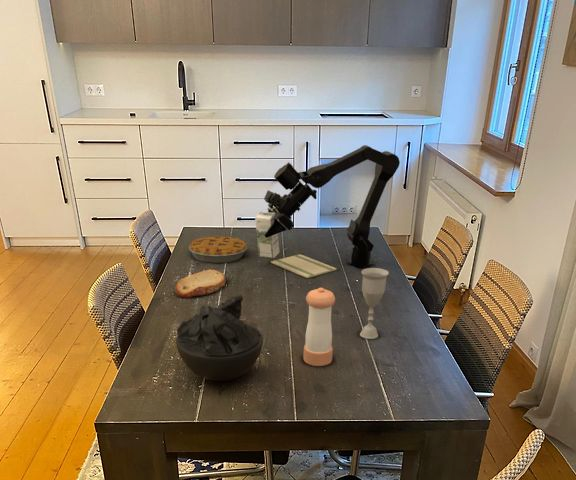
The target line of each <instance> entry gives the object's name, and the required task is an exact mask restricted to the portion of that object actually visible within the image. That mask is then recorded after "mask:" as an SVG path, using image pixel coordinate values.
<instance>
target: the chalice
mask: <svg viewBox="0 0 576 480" xmlns="http://www.w3.org/2000/svg"><path fill="white" fill-rule="evenodd" d="M360 272H361V275H362V283H361V291H362V296H363V299H364V301H365V303H366V305H367V306H368V307H369V310H368V317H367V319H366V320H367V322H368V323H367V324H366V325H364V326H363V327H362V329H361V332H360V333H359V336H360V337H361V338H364V339H367V340H373V339H377V338H378V337H379V333H378V331H377V328H376V326H374V325H373V321H374V320H375V318H374V317H373V316H374V314H375V311H374V307H376V306H378V304H379V303H380V301H381V299H383V296H384V294H385V291H386V286H387V284H386V283H387V277H388V275H390V272H389V270H387V269H385V268H379V267H370V268H369V267H368V268H364V269H362V270H361V271H360Z"/></svg>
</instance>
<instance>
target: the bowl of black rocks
mask: <svg viewBox="0 0 576 480" xmlns="http://www.w3.org/2000/svg"><path fill="white" fill-rule="evenodd" d="M243 298H244V297H243V295H242V294H238V295H236V296H233V297H231V298H229V299H227V300H225V301H224V302H221V303H220V304H218V305H217V306H216V307H213V306H211V305H206V306H205V305H204V304H201V306H200V308H199V310H198V311H199V312H198V313H196V314H194V315H193V316H191V317H190V318H188V319H187V320H182V321H181V323H180V324H179V325H178V327H177V329H176V335H177V336H176V340H175V344H176V349H177V352H178V354H179V356H180V358H181V360H182V362H183V364H184V365H185V366H186V367H187V368H188V369H189V371H191V372H193V373H194V374H195V375H197V376H199V377H201V378H202V379H204V380H205V379H206V380H208V381H213V382H227V381H231V380H235V379H238V378H240V377H241V376H243V375H244V374H246V373H247V372H248V371H249V370H251V368H252V367H254V365H255V364H256V362H257V361H258V359H259V357H260V355H261V353H262V349H263V344H264V337H263V333H261V331H260V330H258V328H256V327H255V326H252V325H250V324H248V323H246V322H245V321H244V320H241V319H240V318H241V316H242V309H243V306H242V302H243V300H244V299H243Z"/></svg>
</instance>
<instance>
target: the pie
mask: <svg viewBox="0 0 576 480" xmlns="http://www.w3.org/2000/svg"><path fill="white" fill-rule="evenodd" d="M247 249H248V244H247V242H246V241H245V240H243V239H241V238H239V237H232V236H229V235H226V236H222V235H216V236H205V237H198V238H196V240H195V239H193V240H191V243H189V245H188V251H190V252H191V254H192V256H193V258H195V259H196V260H197V261H200V262H205V263H214V264H217V263H218V264H220V263H230V262H236V261H238V260H240V259H241V258H242V257H244V254H245V252H246V250H247Z"/></svg>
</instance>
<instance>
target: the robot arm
mask: <svg viewBox="0 0 576 480" xmlns="http://www.w3.org/2000/svg"><path fill="white" fill-rule="evenodd" d="M365 161H370V162H373V163H375V167H374V178H373V180H372V183H371V185H370V187H369V190H368V192H367V194H366V198H365V200H364V202H363V205H362V207H361V209H360V213H359V214H358V217H357V218H355V220H353V219H350V221H349V225H348V227H347V228H346V231H347V233H346V236H347V239H348V240H349V241H350V243H351V244H352V246H353V248H352V252H351V261H348V265H350V266H354V267H356V268H359V269H363V268H366V267H370V266H373V265H374V263H373V262H370V261H371V252H372V251H373V249H374V246H375V245H374V244H373V243H372V242H371V241H370V239H369V236H370V233H371V222H372V219H373V217H374V215H375V212H376V210H377V207H378V205H379V202H380V201H381V198H382V195H383V193H384V191H385V188H386V186H387V183H388V182H389V181H390V180H391V179H392V178H393V176H395V173H396V172H397V170H398V169H399V167H400V163H401V161H400V158H399V157H398V155H396V154H395V153H393V152H391V151H388V150H384V151H381V150H380V151H379V150H377V149H374V148H372V147H371V146H369V145H366V144H364V145H361V146H360V147H359V148H357V149H355V150H353V151H351V152H349V153H347V154H345V155H343V156H341V157H339V158H336V159H335V160H333V161H330V162H328V163H323V164H318V165H315V166H311V167H309V168H308V169H307V170H305V171H299V172H298V170H297V169H295V168H294V166H293V164H291V163H290V162H287V163H285V164H284V165H283V166H281V167H280V168H278V169H277V170H276V172H275V174H274V175H273V178H274V179H275V180H276V181H277V182H278V183H279V184H280V185H281V186H282V187H283V188H284V190H287V191H288V190H290V192H289V193H288V194H287V193H285V194H284V195H282V196H281V194H280V193H277V192H273V191H271V190H267V191H266V193H265V196H264V199H263V200H264V201H265V203H267V212H270V213H276V215H275V217H276V218H277V219H276V218H275V217H274V216H273V223H272V225H271V226H270V228H269V229H268V231H267V232H266V233H265V235H264V236H265V237H266V238H268V237H270V236H272V235H275V234H277V233H278V234H280V233H283V232H285V231H286V232H287V231H291V230H292V229H293V228H294V221H293V220H292V219H293V217H292V216H293V215H294V214H295V213H296V212H297V211H298V212H300V210H301V207H302V206H303V205H304V203H306V202H307V200H308V199H309V198H310V197H312V199H314V200H317V198H318V197H317V193H318V191H317V190H316V189H321V188H322V187H324V186H325V185H327V184H328V183H329V182H330V181H332V179H333V178H334V177H336V176H338V175H339V174H342V173H343V172H345V171H348V170H349V169H351V168H354V167H355V166H357V165H360V164H361V163H363V162H365ZM300 180H301V181H302V182H304V184H303V183H302V182H301V181H300ZM310 186H311V187H310ZM313 188H315V189H313Z"/></svg>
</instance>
